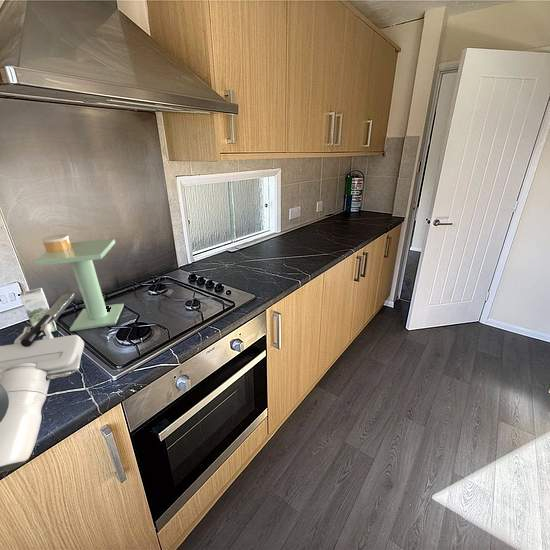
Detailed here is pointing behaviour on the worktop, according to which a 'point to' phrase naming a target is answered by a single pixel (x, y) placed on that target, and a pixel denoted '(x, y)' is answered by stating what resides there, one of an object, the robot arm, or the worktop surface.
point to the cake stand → (83, 277)
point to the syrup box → (36, 306)
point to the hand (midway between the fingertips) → (38, 326)
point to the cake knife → (48, 318)
